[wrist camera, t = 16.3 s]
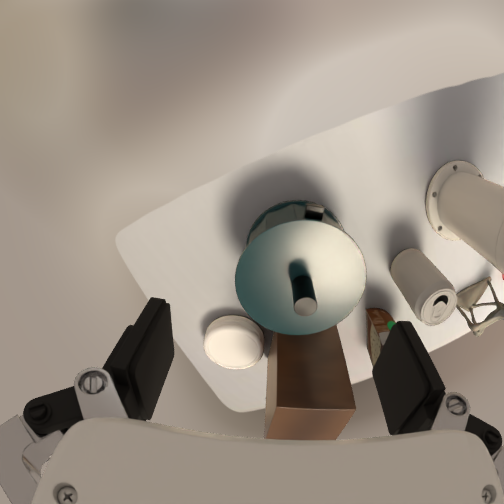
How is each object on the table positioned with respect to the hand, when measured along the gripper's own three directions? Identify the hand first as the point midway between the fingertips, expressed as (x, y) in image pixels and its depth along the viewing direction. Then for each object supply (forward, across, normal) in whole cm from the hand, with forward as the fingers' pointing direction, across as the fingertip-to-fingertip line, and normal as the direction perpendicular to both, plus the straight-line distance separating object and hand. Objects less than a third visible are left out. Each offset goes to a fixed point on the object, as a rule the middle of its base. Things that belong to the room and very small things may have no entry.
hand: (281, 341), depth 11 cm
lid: (+20, -4, +9) cm, 22 cm away
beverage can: (+29, -22, +9) cm, 38 cm away
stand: (+29, -8, +26) cm, 40 cm away
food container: (+29, -22, +21) cm, 42 cm away
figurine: (+29, -40, +14) cm, 52 cm away
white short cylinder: (+30, +4, +26) cm, 39 cm away
